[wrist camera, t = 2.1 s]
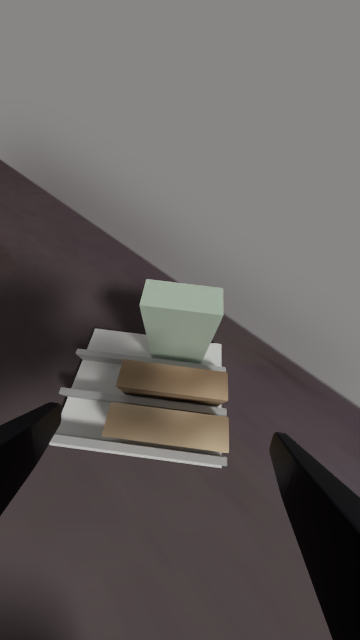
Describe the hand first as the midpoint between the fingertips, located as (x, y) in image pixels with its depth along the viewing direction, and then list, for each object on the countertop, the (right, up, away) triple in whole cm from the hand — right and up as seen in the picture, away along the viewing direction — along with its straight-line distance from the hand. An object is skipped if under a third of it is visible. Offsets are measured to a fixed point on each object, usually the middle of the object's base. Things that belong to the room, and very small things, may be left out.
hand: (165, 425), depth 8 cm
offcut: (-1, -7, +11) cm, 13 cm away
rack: (-3, -4, +14) cm, 15 cm away
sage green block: (0, 0, +15) cm, 15 cm away
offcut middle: (0, -3, +13) cm, 14 cm away
